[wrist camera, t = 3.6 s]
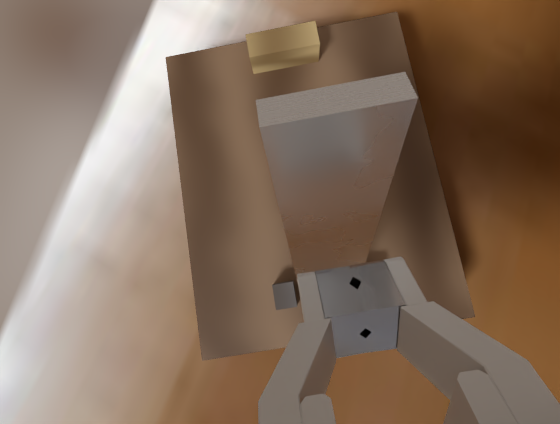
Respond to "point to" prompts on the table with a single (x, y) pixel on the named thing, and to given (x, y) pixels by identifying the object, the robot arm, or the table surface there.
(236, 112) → the base
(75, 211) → the table surface
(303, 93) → the strap
